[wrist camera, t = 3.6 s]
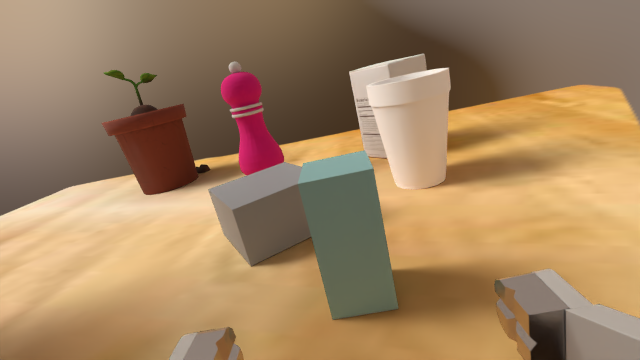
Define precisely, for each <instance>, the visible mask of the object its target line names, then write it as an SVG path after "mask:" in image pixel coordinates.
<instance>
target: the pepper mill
mask: <svg viewBox="0 0 640 360" xmlns="http://www.w3.org/2000/svg"><path fill="white" fill-rule="evenodd" d="M229 70H230V72H231V73H233V74H231V75H229V76H228V77H226V78H225V79H224V80H223V82H222V85H221V93H222V97H223V99H224V101H226V102H227V103H228V104H229V105H230V106H231V107H232V109H231V110H230V111H231V112H232V117H233V118H235V119H236V122H237V124H238V127H239V132H240V150H239V164H240V169H241V171H242V172H243V173H244V174H245V175H250V174H253V173H256V172H258V171H261V170H264V169H267V168H269V167H272V166H275V165H278V164H281V163H283V162H284V156H283V153H282V150H281V149H280V147H279V145H278V144H277V143H276V141H275V140H274V139H273V138H272V136H271V135H270V134H269V132H268V130H267V128H266V125H265V123H264V120H263V115H262V111H263V110H264V108H262V102H259V97H260V95H261V85H260V83H259V81H258V79H257V78H256V77H255V76H254V75H252V74H251V73H248V72H240V71H241V66H240V64H239V63H237V62H232V63H230V65H229Z"/></svg>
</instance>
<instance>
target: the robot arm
mask: <svg viewBox="0 0 640 360" xmlns="http://www.w3.org/2000/svg"><path fill="white" fill-rule="evenodd" d="M494 285H495V292H496V293H497V295H498V296H499V297H500V299H499V300H498V302H497V303H496V307H497V314H498V317H499V320H500V323H501V325H502V327H503V329H504V331H505V333H506V334H507V336H508V337H509V338H510V339H512V340H514V341H516V342H517V351H518V352H519V353H520V355H521V356H522V358H523V359H524V360H640V318H637V317H634V316H631V315H628V314H626V313H623V312H620V311H617V310H614V309H612V308H609V307H606V306H603V305H600V304H597V305H593V304H592V303H590V302H589V301H588V300H587V299H586V298H585V297H584V296H582V295H581V294H580V293H579V292H578V291H577V290H575V289H574V288H573V287H572V286H571V285H570V284H569V283H567V282H566V281H565V280H564V279H563V278H562V277H560V276H559V275H558V274H557V273H556V272H555V271H554V270H551V269H545V270H540V271H535V272H531V273H527V274H522V275H516V276H511V277H506V278H500V279H495V284H494ZM235 338H236V336H235V334H234V331H233V329H232V328H230V327H226V328H220V329H213V330H207V331H200V332H195V333H189V334H185V335H183V336H182V337H181V338H180V340H179V342H178V344H177V346H176V347H175V349H174V351H173V353H172V354H171V356H170V358H169V360H244V359H243V354H242V351H241V349H240V347H238V346H237V345H235V344H234V341H235Z"/></svg>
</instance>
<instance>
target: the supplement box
mask: <svg viewBox="0 0 640 360" xmlns="http://www.w3.org/2000/svg"><path fill="white" fill-rule="evenodd" d="M422 71H427V70H426V61H425V55H424V54H420V55H415V56H411V57H407V58H402V59H397V60H391V61H387V62H383V63H379V64H375V65H371V66H368V67H364V68H361V69H357V70H353V71H350V72H349V74H350V79H351V84H352V89H353V94H354V99H355V104H356V109H357V115H358V120H359V125H360V130H361V135H362V141H363V146H364V151H366V153H367V156H368V157H377V158H387V155H386V152H385V149H384V145H383V142H382V139H381V136H380V132H379V129H378V126H377V123H376V119H375V116H374V113H373V110H372V107H371V106H370V105H369V100H368V94H367V89H366V86H367V85H369V84H371V83H375V82H378V81H382V80H386V79H390V78H394V77H398V76H402V75H407V74H412V73H416V72H422Z"/></svg>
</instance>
